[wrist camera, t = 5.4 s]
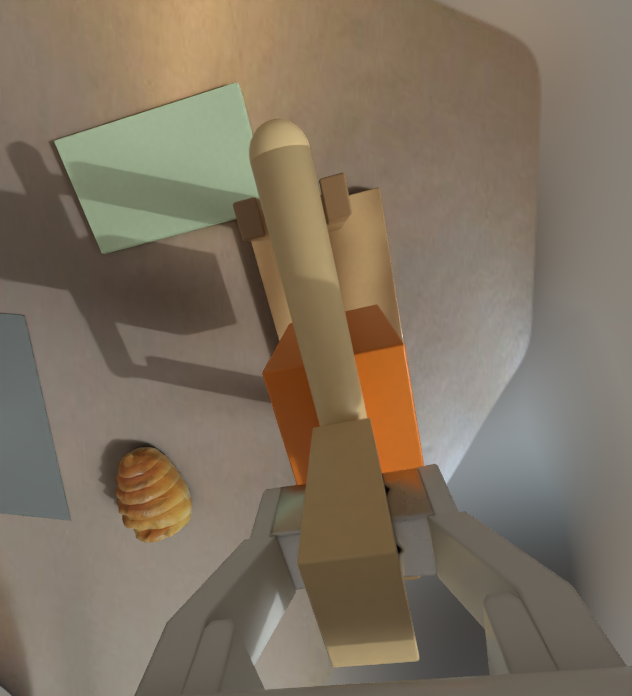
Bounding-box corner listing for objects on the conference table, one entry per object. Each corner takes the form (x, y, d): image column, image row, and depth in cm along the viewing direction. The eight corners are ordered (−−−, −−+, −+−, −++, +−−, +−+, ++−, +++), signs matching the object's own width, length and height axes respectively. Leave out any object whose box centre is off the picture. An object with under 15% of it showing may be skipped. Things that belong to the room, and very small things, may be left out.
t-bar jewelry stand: (353, 164, 15) (435, -175, 3) (411, 491, 21) (520, 850, 9) (253, 192, 16) (-43, 18, 3) (336, 502, 22) (339, 851, 9)
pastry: (112, 447, 32) (84, 473, 29) (174, 438, 32) (154, 463, 28) (144, 518, 35) (123, 550, 31) (202, 511, 34) (187, 543, 31)
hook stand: (377, 189, 23) (451, 105, 9) (412, 412, 29) (493, 585, 15) (249, 223, 25) (126, 198, 10) (307, 430, 30) (283, 607, 16)
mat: (240, 86, 22) (237, 81, 21) (272, 209, 24) (270, 208, 24) (62, 143, 24) (53, 140, 23) (108, 253, 26) (101, 253, 25)
